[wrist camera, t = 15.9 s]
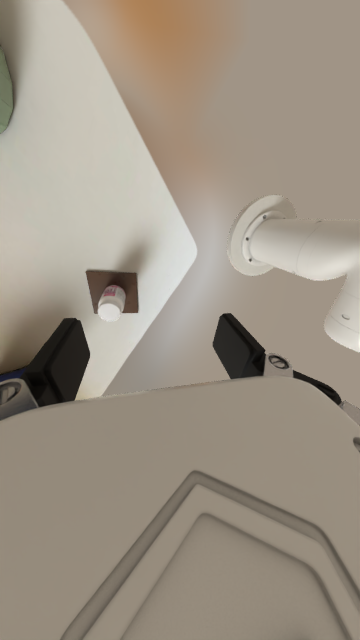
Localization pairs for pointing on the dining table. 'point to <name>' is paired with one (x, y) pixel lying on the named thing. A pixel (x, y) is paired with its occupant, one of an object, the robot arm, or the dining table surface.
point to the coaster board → (105, 279)
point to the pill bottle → (111, 303)
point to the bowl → (5, 93)
